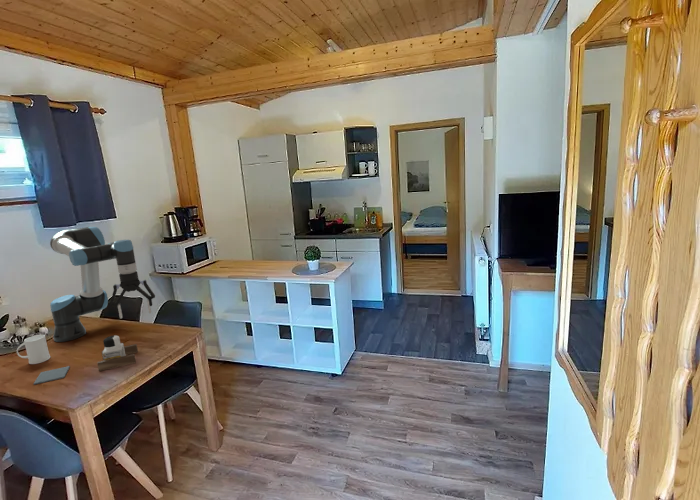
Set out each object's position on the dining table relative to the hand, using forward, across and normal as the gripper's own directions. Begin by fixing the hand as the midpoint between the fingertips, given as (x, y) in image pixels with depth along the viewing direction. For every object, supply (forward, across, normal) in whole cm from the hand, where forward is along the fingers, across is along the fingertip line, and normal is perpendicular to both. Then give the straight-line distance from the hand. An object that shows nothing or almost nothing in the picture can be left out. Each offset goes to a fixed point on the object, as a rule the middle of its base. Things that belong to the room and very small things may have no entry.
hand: (135, 315), depth 181 cm
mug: (+22, -49, +23) cm, 58 cm away
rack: (+21, -10, 0) cm, 24 cm away
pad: (+21, -37, 0) cm, 43 cm away
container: (+22, -12, -1) cm, 25 cm away
